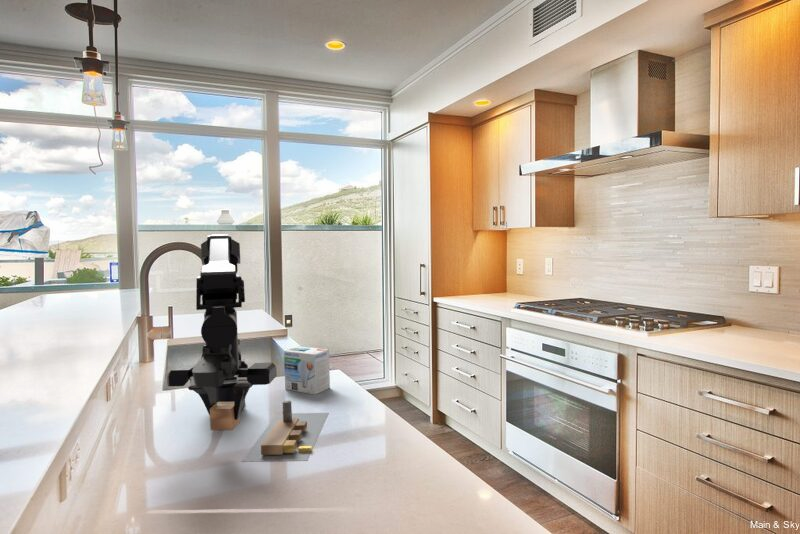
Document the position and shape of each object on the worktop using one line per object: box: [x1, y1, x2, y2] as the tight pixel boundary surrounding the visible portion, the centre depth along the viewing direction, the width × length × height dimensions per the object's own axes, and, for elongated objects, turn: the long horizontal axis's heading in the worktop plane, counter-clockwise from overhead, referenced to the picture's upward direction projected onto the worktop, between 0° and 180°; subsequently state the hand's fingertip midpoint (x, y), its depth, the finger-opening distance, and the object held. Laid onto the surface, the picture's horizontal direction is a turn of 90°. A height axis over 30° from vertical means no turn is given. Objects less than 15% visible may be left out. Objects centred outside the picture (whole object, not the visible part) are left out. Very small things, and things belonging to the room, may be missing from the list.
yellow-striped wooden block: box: [209, 402, 241, 431], centre depth 95 cm, size 4×4×4 cm
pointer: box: [298, 446, 313, 453], centre depth 96 cm, size 2×1×1 cm, turn 89°
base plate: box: [241, 412, 330, 463], centre depth 104 cm, size 12×25×1 cm, turn 179°
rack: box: [261, 400, 307, 455], centre depth 100 cm, size 6×14×6 cm, turn 179°
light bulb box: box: [283, 345, 331, 395], centre depth 137 cm, size 11×7×11 cm, turn 62°
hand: (225, 419), depth 95 cm, fingers closed on yellow-striped wooden block, 4 cm apart
